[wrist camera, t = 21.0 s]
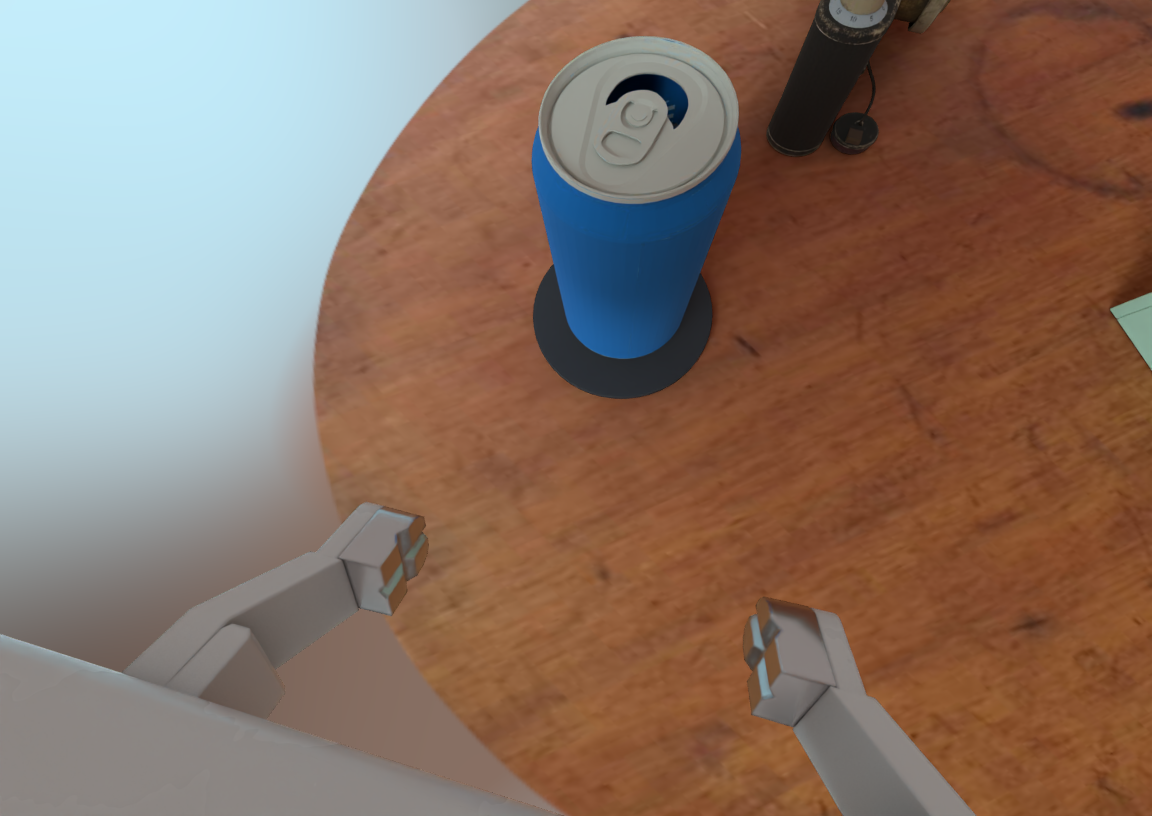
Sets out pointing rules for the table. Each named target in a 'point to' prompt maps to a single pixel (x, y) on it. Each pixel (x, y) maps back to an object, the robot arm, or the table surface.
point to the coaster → (615, 373)
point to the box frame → (1137, 323)
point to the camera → (839, 73)
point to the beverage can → (634, 185)
